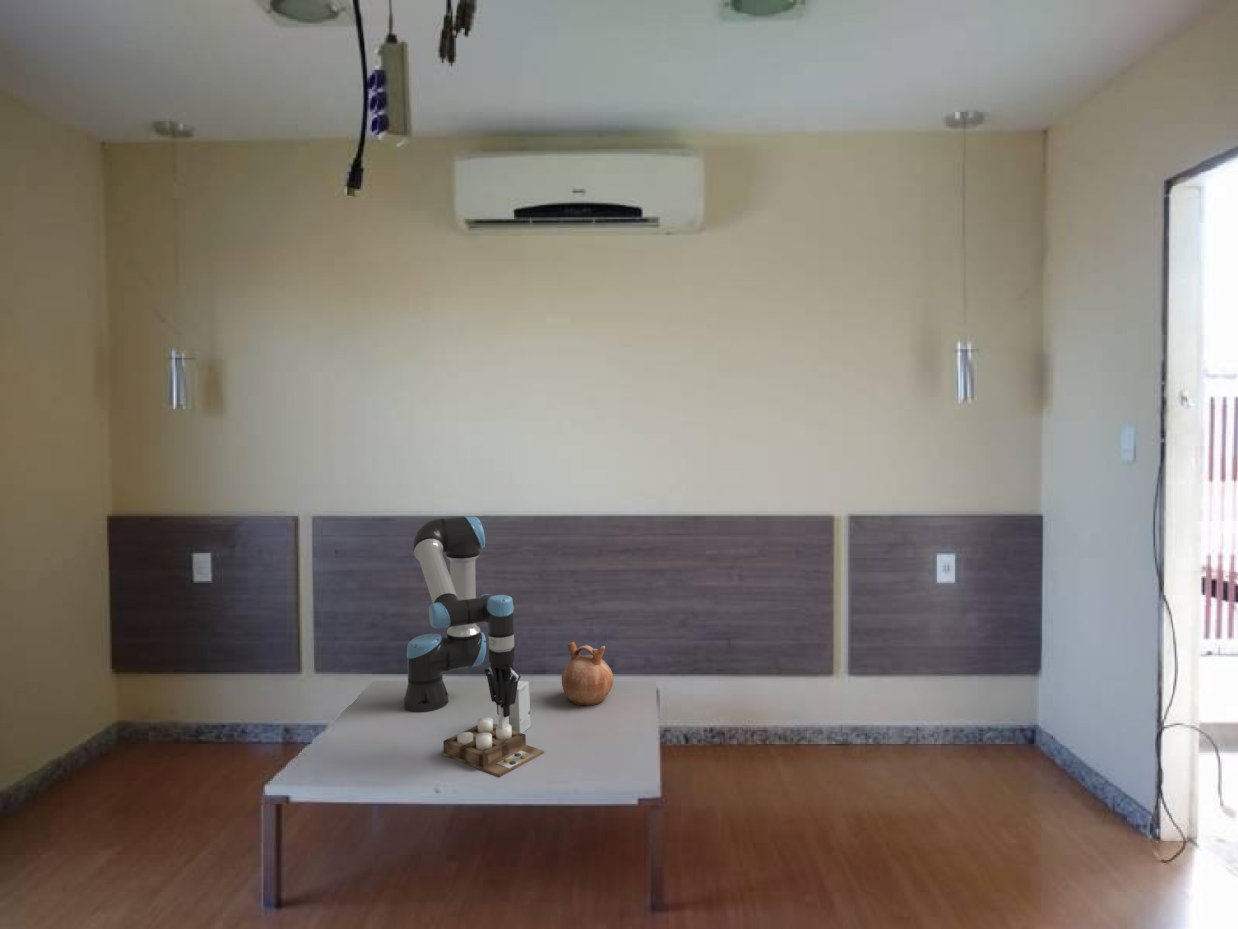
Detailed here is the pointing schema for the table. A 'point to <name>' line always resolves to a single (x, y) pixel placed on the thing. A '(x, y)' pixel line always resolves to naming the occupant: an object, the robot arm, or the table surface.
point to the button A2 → (485, 725)
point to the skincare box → (520, 709)
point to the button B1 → (483, 741)
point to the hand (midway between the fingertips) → (503, 726)
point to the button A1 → (465, 737)
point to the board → (492, 752)
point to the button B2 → (504, 733)
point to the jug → (586, 676)
